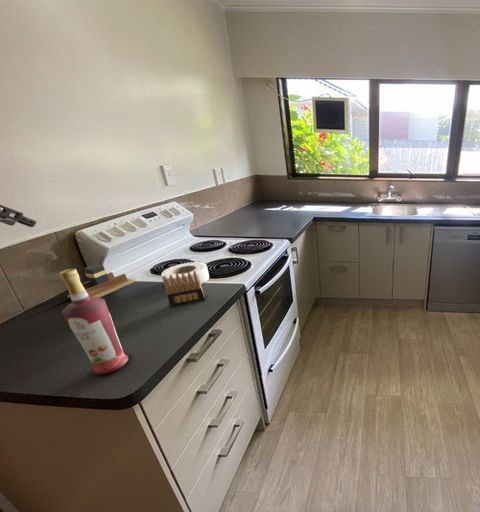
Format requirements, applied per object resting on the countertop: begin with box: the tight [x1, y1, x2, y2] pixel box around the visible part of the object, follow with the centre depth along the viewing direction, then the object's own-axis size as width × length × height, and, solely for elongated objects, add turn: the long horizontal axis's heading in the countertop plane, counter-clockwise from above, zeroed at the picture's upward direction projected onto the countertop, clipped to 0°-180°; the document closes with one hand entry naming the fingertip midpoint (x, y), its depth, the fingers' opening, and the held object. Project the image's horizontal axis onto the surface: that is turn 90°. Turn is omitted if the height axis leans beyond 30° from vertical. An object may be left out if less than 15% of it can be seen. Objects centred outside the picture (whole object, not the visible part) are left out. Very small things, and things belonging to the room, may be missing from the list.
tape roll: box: [160, 261, 210, 290], centre depth 118 cm, size 16×16×6 cm
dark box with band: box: [83, 263, 109, 287], centre depth 111 cm, size 4×4×9 cm
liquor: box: [58, 268, 129, 375], centre depth 69 cm, size 7×7×28 cm
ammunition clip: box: [162, 271, 206, 308], centre depth 102 cm, size 11×2×12 cm, turn 117°
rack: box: [66, 271, 135, 300], centre depth 112 cm, size 11×16×4 cm
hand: (24, 223), depth 90 cm, fingers open, 8 cm apart
